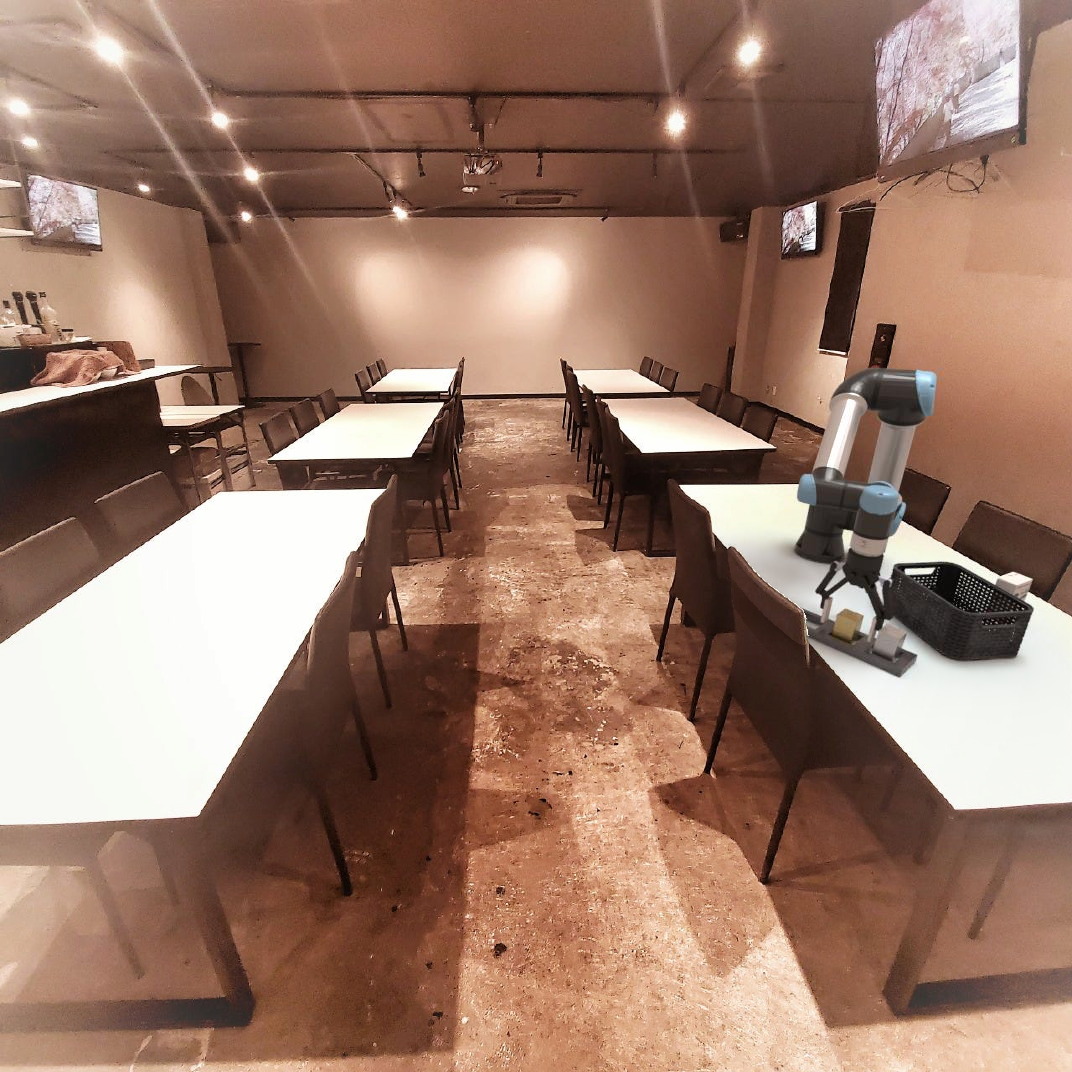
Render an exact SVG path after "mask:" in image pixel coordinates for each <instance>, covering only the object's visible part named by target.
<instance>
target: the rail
mask: <svg viewBox="0 0 1072 1072" xmlns="http://www.w3.org/2000/svg"><path fill="white" fill-rule="evenodd" d="M801 608H802V609H803V610H804V613H805V615H806V618H807V620H806V621H809V622H811V623H812V624H815V625H818V627H817V628H812V627H811V626H808V625H806V626H807V629H808V635H809V637H808V638H810V639H812V640H814V641H816V642H819V643H822V644H824V645H826V646H829V647H830V648H833V649H835V650H837V651H839V652H842V653H845V654H847V655H849V656H851V657H853V658H855V659H858V660H860V661H863V662H865V663H868V665H869V664H870V665H872V666H874V667H876V668H878V669H880V670H884V671H885V672H888V673H890V674H893V675H895V676H897V677H900V678H901V677H902V676H903V675H904V674H905V673H906V672H907V671H908V670H909V669H910V668H911V667H912V666H913V665H914V664H915V663H916V662H917V658H918V654H917V653H914V652H912V651H910V650H906V649H904V648H903V647H902V648H901V651H900V654H899V656H898V659H897V660H896V661H895V662H894V663H893V662H891V661H889V660H886V659H884V658H882V657H879V656H877V655H875V654H872V650H873V647H874V644H875V641H876V638H877V637H875V639H873V640H872V641H871V642H868V641H867V639H868V635H869V634H867V633H865V632H862V631H860V633H859V637H858V640H857V643H855V644H854V645H851V644H849V643H846V642H844V641H841V640H839V639H837V638H834V637H832V633H833V629H834V625H835V621H836V620H832V619H830V618H828V620H827V621H825V622H824V623H822V622H820V621H821V617H822V615H820V614H817V613H815V612H813V611H810V610H808V609H805V608H803V607H801Z"/></svg>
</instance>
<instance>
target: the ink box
mask: <svg viewBox="0 0 1072 1072" xmlns="http://www.w3.org/2000/svg"><path fill="white" fill-rule="evenodd" d="M1033 580H1034V579H1033V578H1031V577H1028V576H1025V575H1023V574H1021V573H1018V572H1015V571H1011V572H1009V573H1006V574H1004V575H1001V576H998V577H997V579H996V582H995V583H994V584H995V585H996V586H998V587H1000V588H1002V589H1003V590H1005V591H1007V592H1009V593H1011V594H1012V595H1014V596H1016V597H1018V598H1019V599H1021V600H1023V601H1025V602H1026V599H1027V596H1028V593H1029V591H1030V588H1031V585H1032V582H1033ZM996 594H997V593H996ZM1000 596H1001V595H1000ZM994 597H995V596H994ZM1001 597H1002V596H1001ZM989 598H990V597H989ZM995 598H996V597H995ZM990 599H991V598H990ZM1005 599H1006V598H1005ZM999 600H1000V599H999ZM993 601H995V600H993ZM1009 601H1010V600H1009ZM988 602H989V603H990V601H988ZM1003 602H1004V601H1003ZM997 603H998V602H997ZM1004 603H1005V602H1004ZM992 604H993V603H992ZM998 604H999V603H998ZM1013 604H1015V603H1013ZM993 605H994V604H993ZM1008 605H1009V604H1008ZM1002 606H1003V605H1002ZM1017 606H1018V605H1017ZM996 607H998V606H996ZM1012 607H1013V606H1012ZM1018 607H1019V606H1018ZM991 608H993V607H991ZM1006 608H1007V607H1006ZM1013 608H1014V607H1013ZM1000 609H1001V608H1000ZM1007 609H1008V608H1007ZM995 610H996V609H995ZM1001 610H1002V609H1001ZM1016 610H1018V609H1016ZM990 611H991V610H990ZM996 611H997V610H996ZM1011 611H1012V610H1011ZM1005 612H1007V611H1005ZM1008 618H1009V617H1008ZM1015 618H1016V617H1015ZM1003 619H1004V618H1003ZM1009 619H1010V618H1009ZM997 620H999V619H997ZM1001 622H1002V621H1001ZM1002 623H1003V622H1002Z"/></svg>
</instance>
